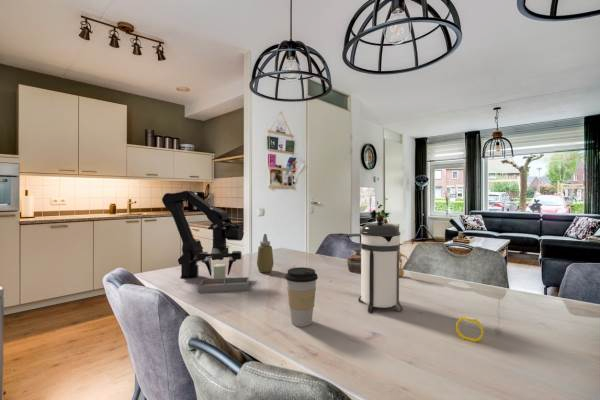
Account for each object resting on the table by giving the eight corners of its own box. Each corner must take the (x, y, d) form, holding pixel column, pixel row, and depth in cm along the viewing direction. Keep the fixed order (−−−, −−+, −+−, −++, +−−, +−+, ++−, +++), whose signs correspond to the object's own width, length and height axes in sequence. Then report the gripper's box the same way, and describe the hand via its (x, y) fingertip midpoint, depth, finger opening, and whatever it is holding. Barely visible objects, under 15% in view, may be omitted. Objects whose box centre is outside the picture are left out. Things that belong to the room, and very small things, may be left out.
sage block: (213, 280, 129) (213, 266, 129) (215, 277, 133) (215, 264, 133) (224, 280, 130) (224, 266, 129) (225, 277, 134) (225, 264, 134)
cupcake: (344, 268, 150) (344, 248, 149) (363, 268, 151) (363, 248, 150) (350, 273, 140) (350, 252, 140) (370, 273, 141) (370, 252, 141)
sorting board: (198, 292, 113) (198, 285, 113) (202, 285, 123) (202, 278, 122) (247, 290, 116) (247, 283, 116) (248, 283, 125) (248, 277, 125)
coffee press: (412, 305, 101) (413, 215, 100) (390, 319, 89) (390, 218, 88) (366, 293, 112) (366, 213, 112) (341, 304, 101) (342, 215, 100)
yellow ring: (482, 341, 76) (485, 319, 76) (481, 346, 74) (483, 322, 74) (456, 333, 80) (458, 311, 79) (454, 337, 78) (456, 315, 77)
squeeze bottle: (272, 273, 140) (272, 235, 140) (255, 273, 140) (255, 235, 140) (274, 269, 148) (274, 232, 148) (258, 269, 148) (258, 232, 148)
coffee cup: (307, 332, 80) (307, 276, 80) (278, 324, 85) (278, 271, 85) (323, 320, 88) (323, 269, 88) (296, 313, 93) (296, 265, 93)
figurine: (409, 276, 136) (409, 249, 135) (408, 279, 130) (408, 252, 130) (389, 274, 139) (390, 248, 139) (388, 277, 133) (388, 250, 133)
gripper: (193, 243, 122) (193, 281, 122) (240, 242, 124) (240, 279, 125) (198, 239, 133) (198, 274, 133) (241, 238, 136) (241, 272, 136)
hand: (219, 275), depth 131 cm, fingers open, 7 cm apart
